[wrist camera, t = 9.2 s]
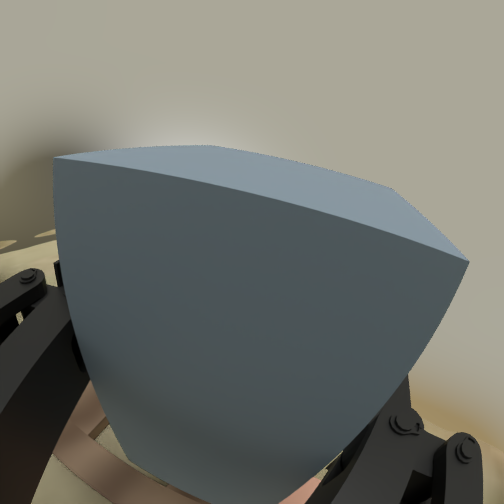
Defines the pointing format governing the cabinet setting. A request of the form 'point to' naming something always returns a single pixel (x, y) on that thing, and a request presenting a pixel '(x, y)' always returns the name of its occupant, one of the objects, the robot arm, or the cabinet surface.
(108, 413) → the slate block
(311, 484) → the mat
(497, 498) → the cabinet surface
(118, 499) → the pocket holder
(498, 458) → the cabinet surface
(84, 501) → the cabinet surface
